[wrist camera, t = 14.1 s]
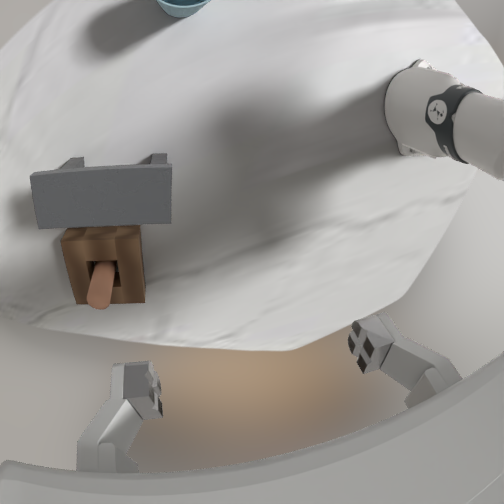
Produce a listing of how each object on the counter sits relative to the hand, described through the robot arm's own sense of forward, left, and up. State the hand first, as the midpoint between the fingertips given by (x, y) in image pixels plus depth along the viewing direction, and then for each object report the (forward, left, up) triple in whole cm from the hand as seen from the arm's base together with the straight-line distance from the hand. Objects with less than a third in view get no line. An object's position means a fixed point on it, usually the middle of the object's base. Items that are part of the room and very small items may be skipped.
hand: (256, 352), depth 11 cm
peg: (+13, +18, -34) cm, 41 cm away
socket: (+13, +18, -34) cm, 41 cm away
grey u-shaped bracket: (+10, +2, -34) cm, 36 cm away
